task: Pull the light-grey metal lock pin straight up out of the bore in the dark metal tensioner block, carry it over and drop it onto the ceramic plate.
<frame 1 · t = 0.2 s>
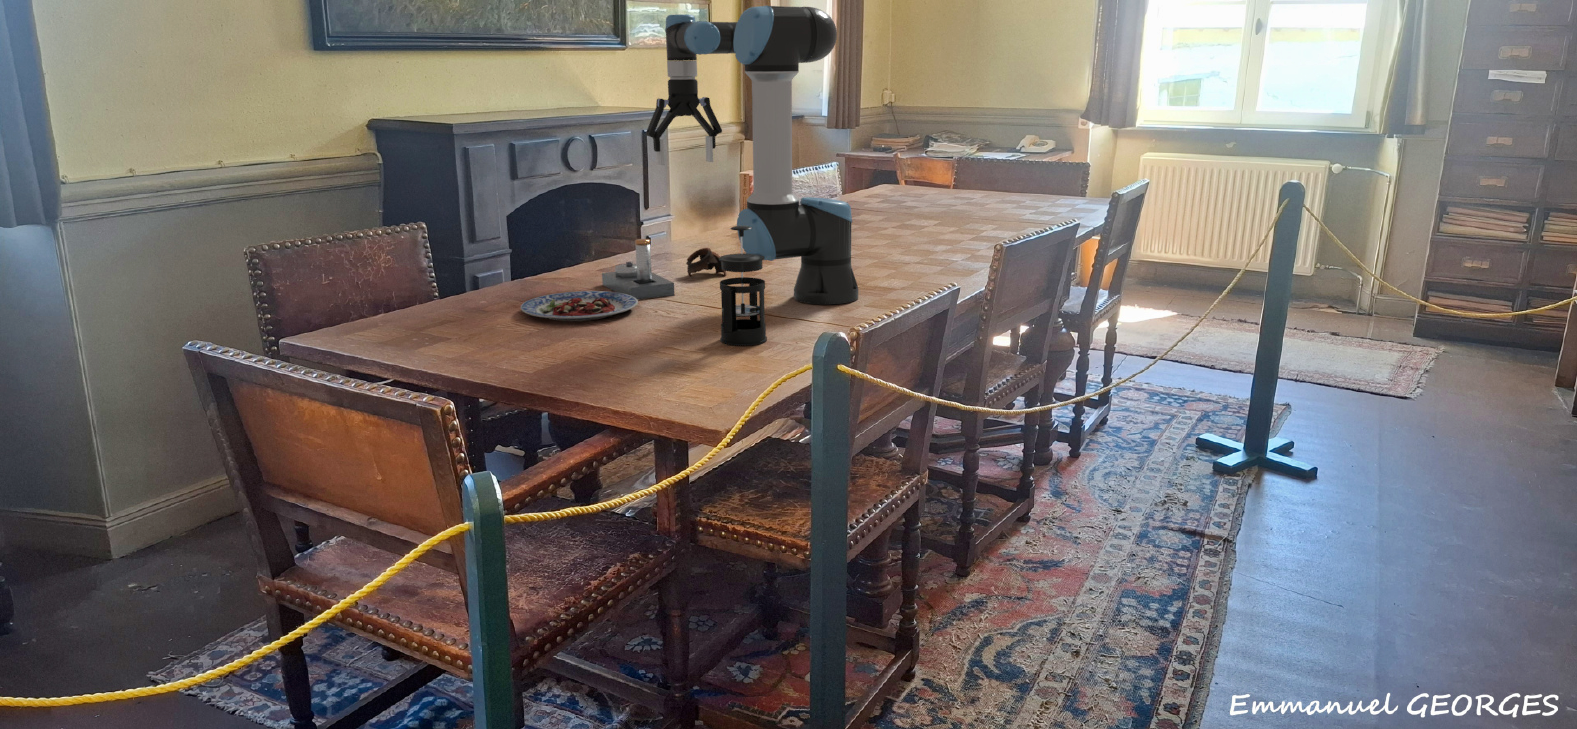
hand: (685, 163, 281), 28 cm above the table, fingers open, 13 cm apart
broken brown mug: (707, 276, 281), on the table
french press: (742, 341, 217), on the table
tensioner block: (637, 289, 264), on the table
ceramic plate: (580, 313, 243), on the table
lock pin: (645, 293, 260), resting in tensioner block
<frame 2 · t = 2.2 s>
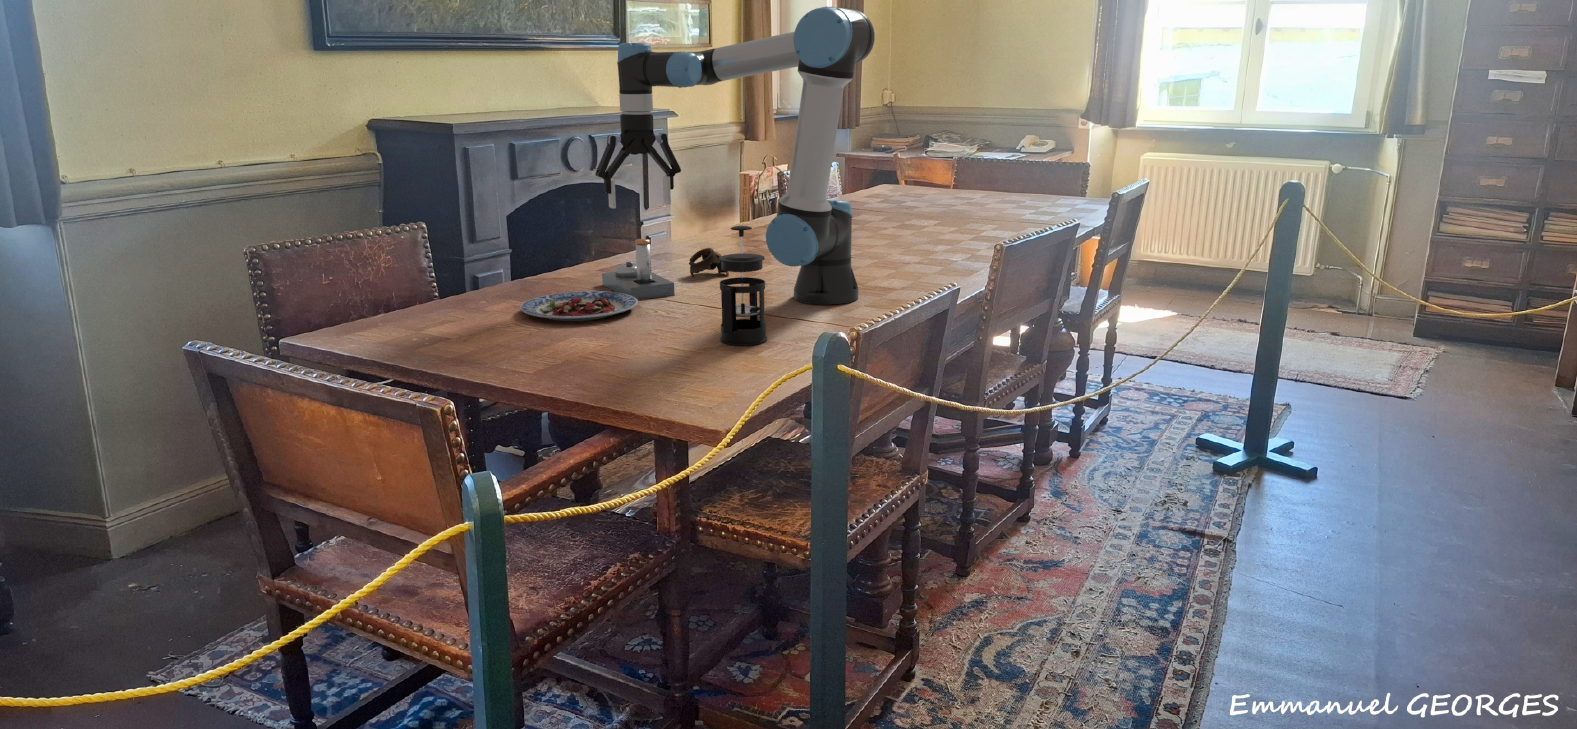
hand: (640, 205, 254), 21 cm above the table, fingers open, 13 cm apart
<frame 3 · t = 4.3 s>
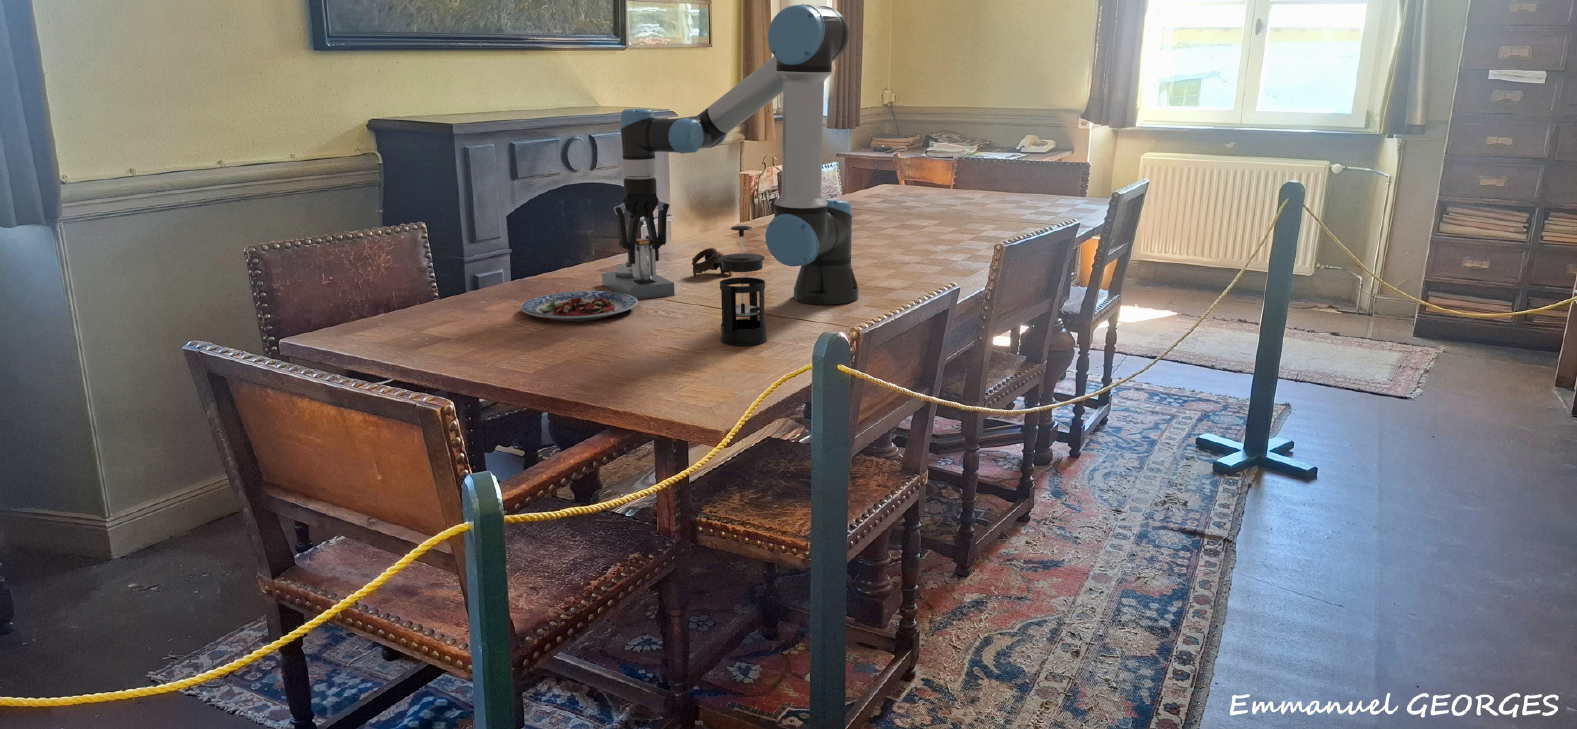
hand: (644, 275, 259), 4 cm above the table, fingers closed on lock pin, 3 cm apart
lock pin: (645, 293, 260), resting in tensioner block, touching gripper
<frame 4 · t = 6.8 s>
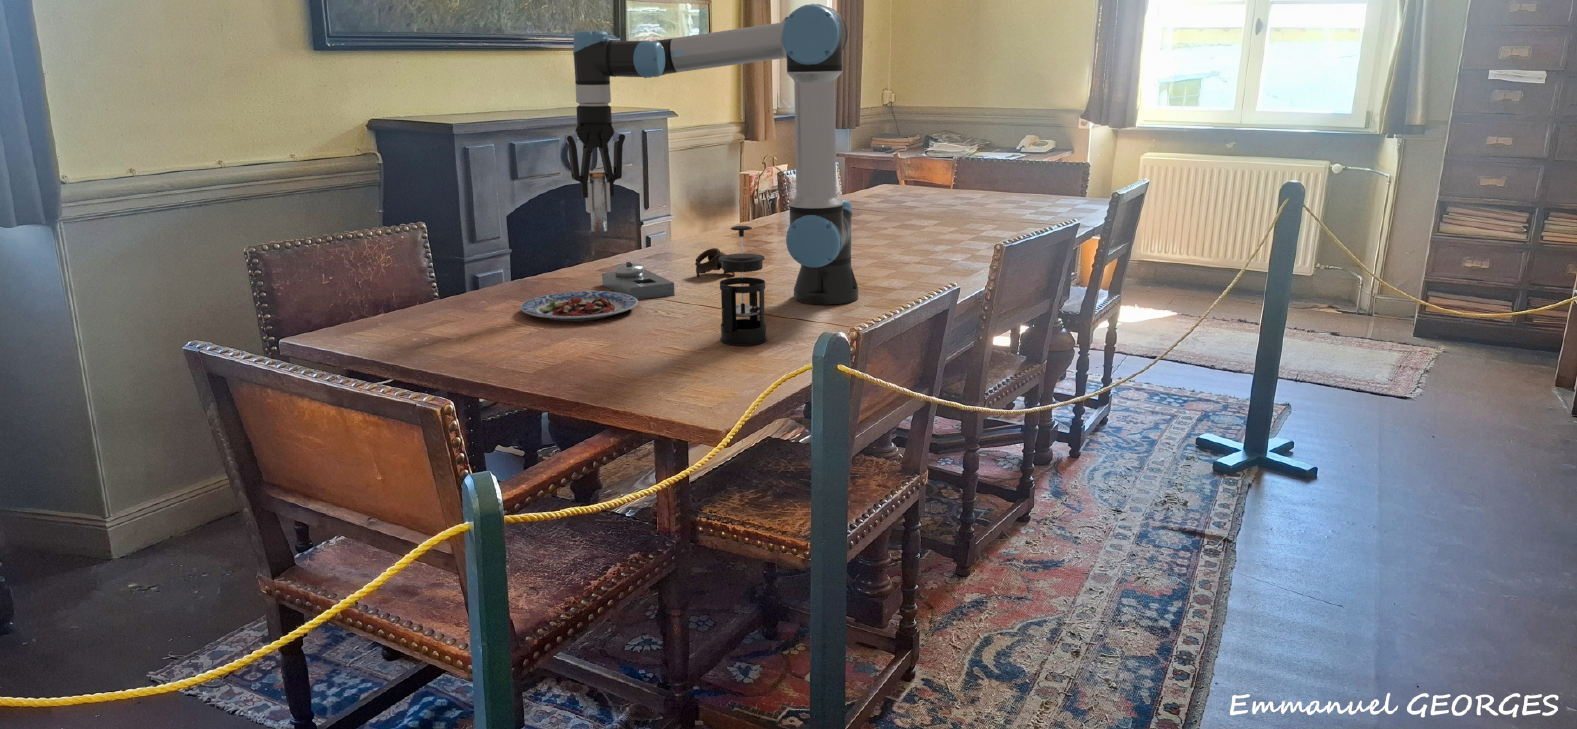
hand: (598, 211, 244), 21 cm above the table, fingers closed on lock pin, 3 cm apart
lock pin: (599, 230, 246), point 17 cm above the table, touching gripper
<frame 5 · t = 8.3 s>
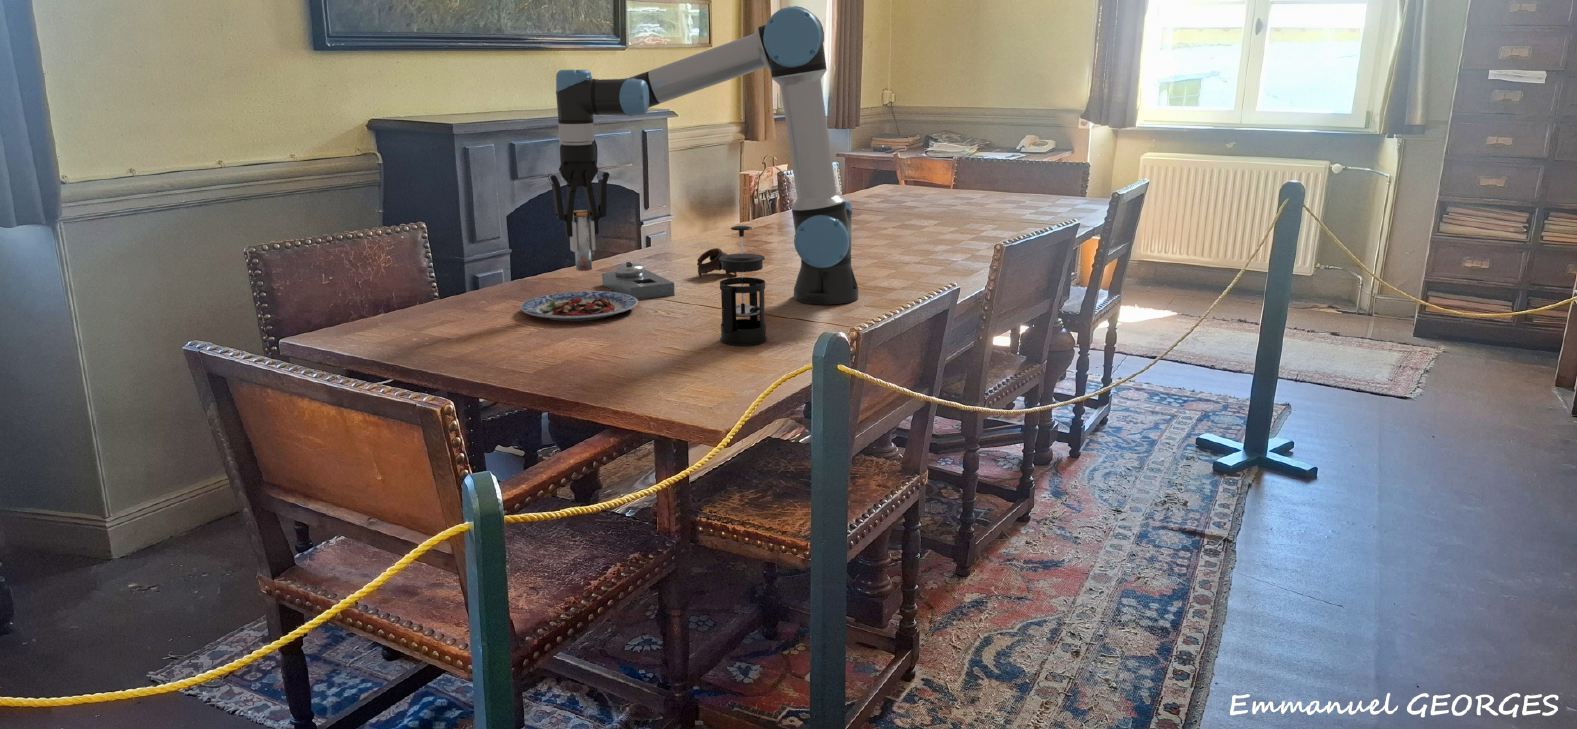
hand: (583, 249, 242), 13 cm above the table, fingers closed on lock pin, 3 cm apart
lock pin: (584, 269, 243), point 9 cm above the table, touching gripper
when the fingers open (8 cm above the table, at t = 9.3 s): lock pin drops 1 cm, resting on ceramic plate.
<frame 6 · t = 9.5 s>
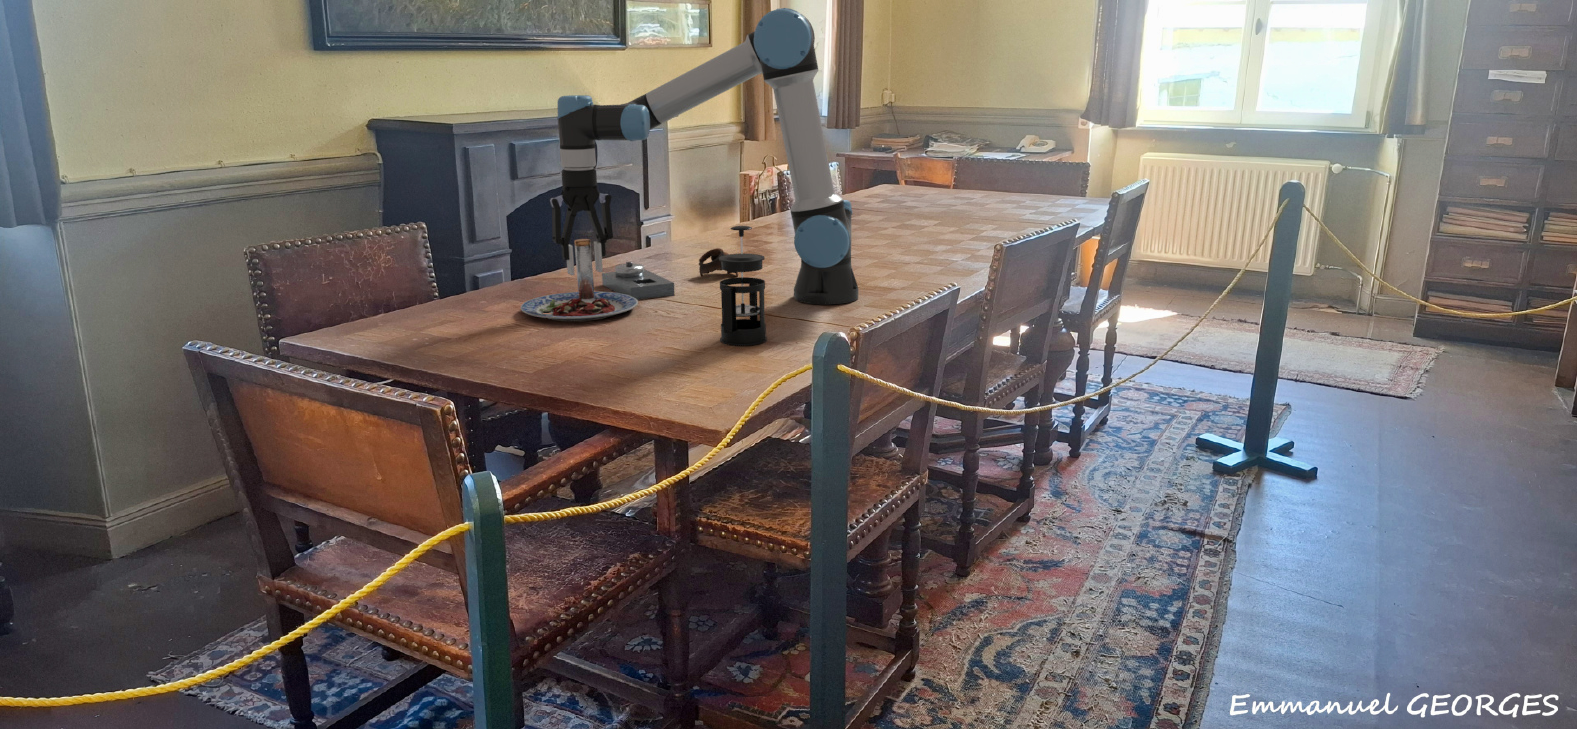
hand: (585, 272, 243), 8 cm above the table, fingers open, 6 cm apart
ceramic plate: (580, 314, 243), on the table, touching lock pin
lock pin: (586, 297, 245), point 3 cm above the table, touching ceramic plate
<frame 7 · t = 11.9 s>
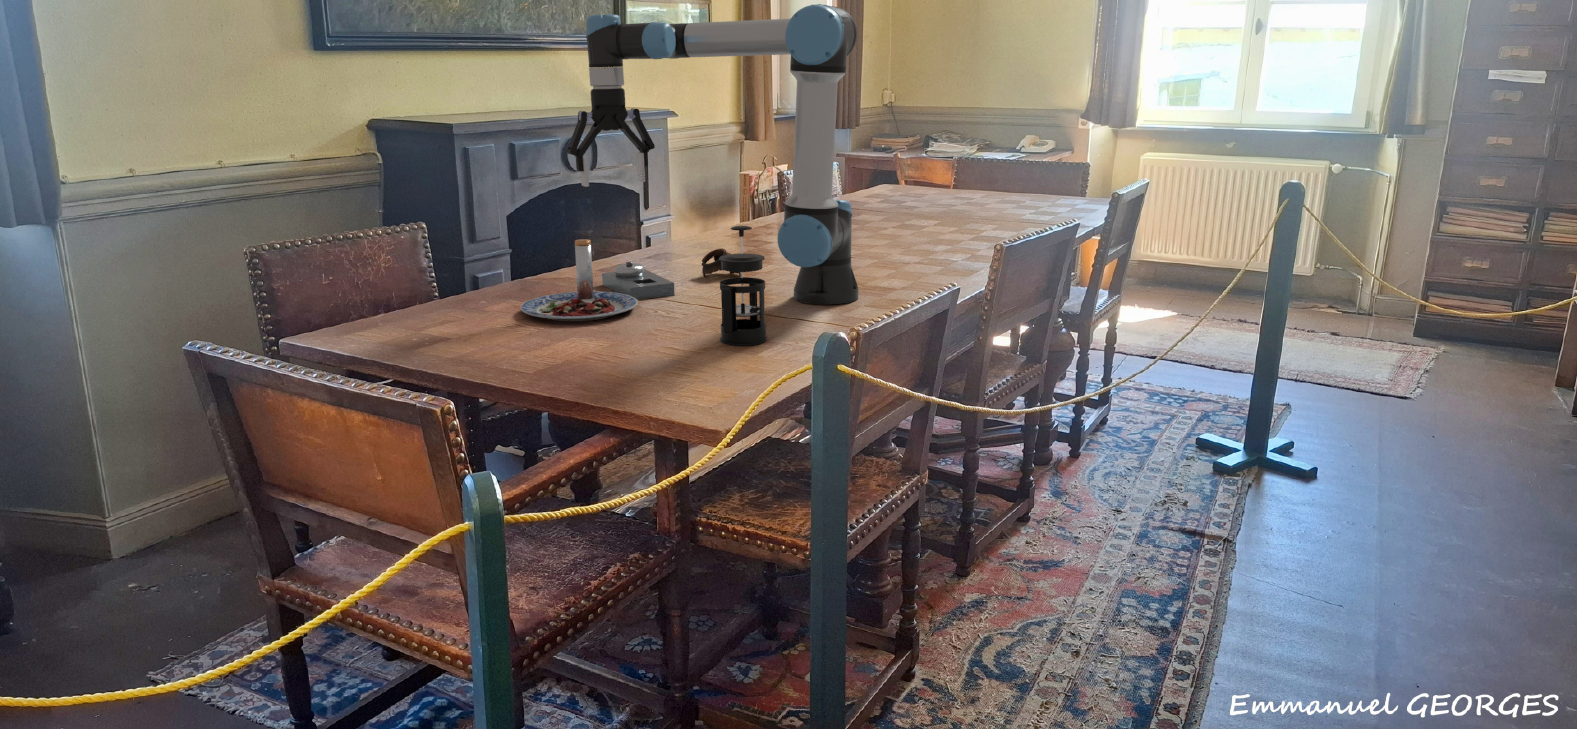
hand: (613, 183, 247), 27 cm above the table, fingers open, 13 cm apart
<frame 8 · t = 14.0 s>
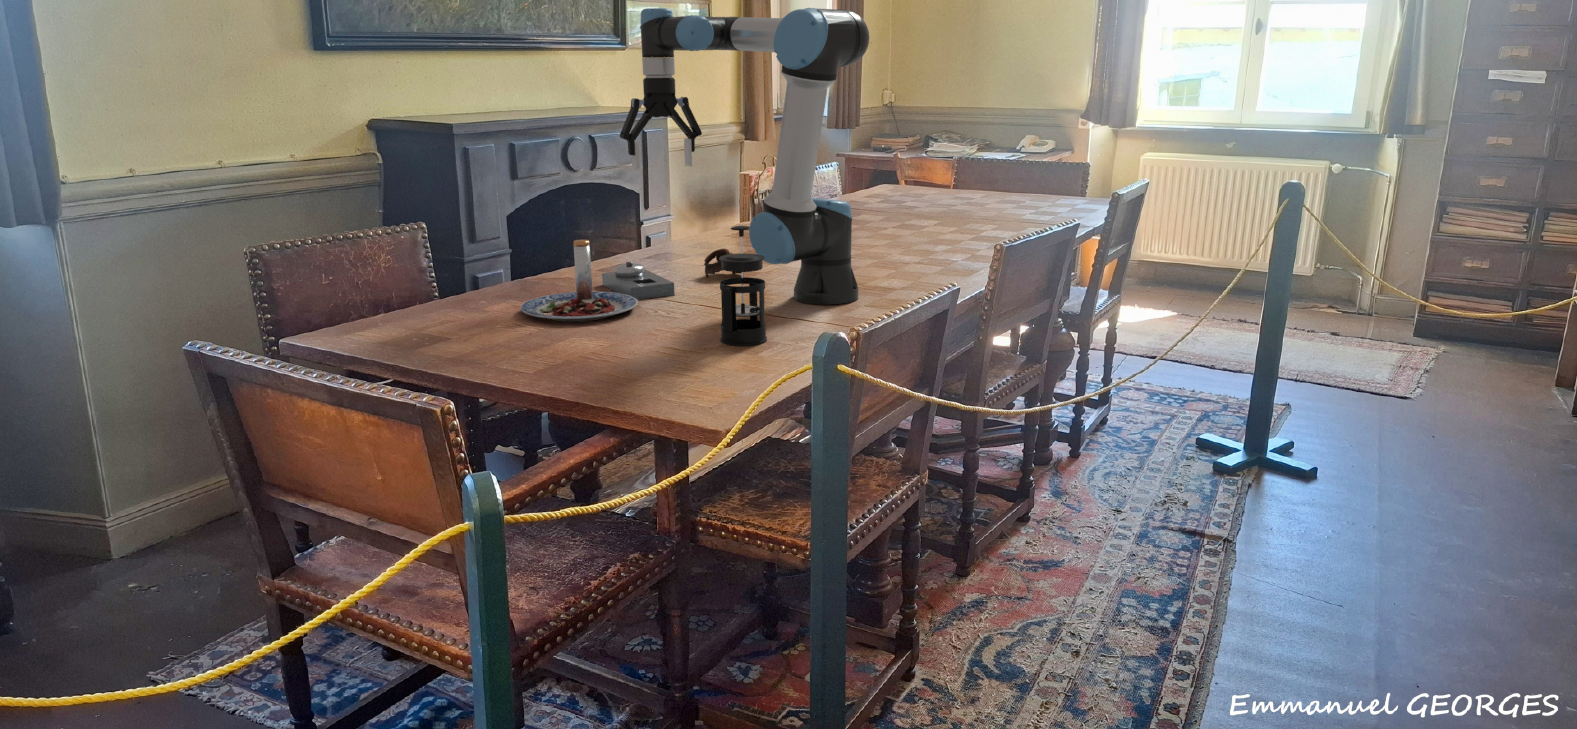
hand: (662, 167, 263), 29 cm above the table, fingers open, 13 cm apart
at the end: lock pin 2.3 cm from the ceramic plate (horizontally); lock pin point 2.6 cm above the table; the gripper is holding nothing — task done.
